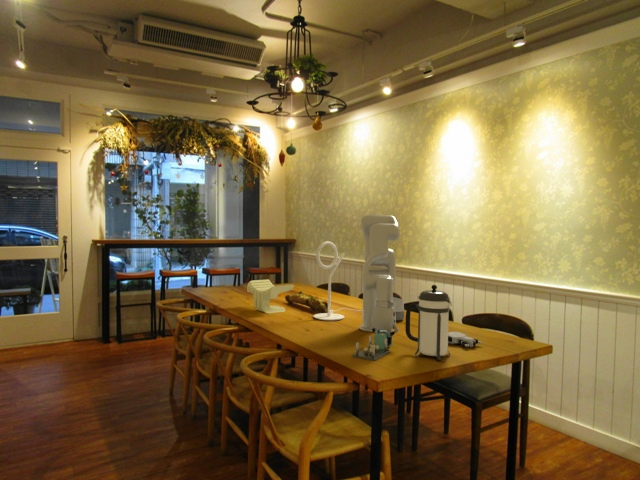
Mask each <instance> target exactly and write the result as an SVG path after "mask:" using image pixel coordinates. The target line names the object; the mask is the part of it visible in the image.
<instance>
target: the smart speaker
mask: <svg viewBox="0 0 640 480" xmlns="http://www.w3.org/2000/svg"><path fill="white" fill-rule="evenodd" d="M393 303H396V305H395V306H393V308H394V309H395V315H396V322H398V321H399V322H401V321H403V320H404V318H405V305H404V299H402V298H398V297H395V296H393Z"/></svg>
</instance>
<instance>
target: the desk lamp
mask: <svg viewBox="0 0 640 480" xmlns="http://www.w3.org/2000/svg"><path fill="white" fill-rule="evenodd" d="M325 246H329V247H331V248H332V250H333V252H334V255H333V256H334V257H333V260H332V262H331V263H330V264H328V265H326V264H324V263H323V261H322V260H321V257H320V256H321V250H322V249H323V248H324V247H325ZM345 254H346V253H345V252H342V253H341V254H340V256H339V253H338V248H337V246H336V245H335V243H333V242H332V241H329V240H328V241H327V240H326V241H323V242H321V243H320V244H319V245H318V248H317V249H316V254H315V258H316V262H317V265H319V267H320V268H322V269H324V270H329V269H332V270H331V271H330V274H328V277H327V278H328V279H327V281H328V282H327V283H328V284H327V285H328V286H327V312H323V313H322V312H320V313H315V314H314V315H313V318H315V319H316V320H319V321H325V322H326V321H329V322H331V321H334V322H335V321H340V320H342V319H345V315H344V314H339V313H334V312H335V310H333V309H332V310H331V307H332V306H331V305H332V304H331V303H332V301H331V300H332V297H331V296H332V277H333V275H334V273H335V272H336V270H337V268H338V266H339V265H340V263H341V262H342V260H343V259H344V257H345ZM341 309H343V307H341V308H339V309H336V312H339V311H340V310H341ZM344 309H345V310H346V309H347V310H348V308H346V307H344ZM349 310H351V311H354V308H353V309H351V308H349ZM356 311H359V312H362V310H359V309H356Z"/></svg>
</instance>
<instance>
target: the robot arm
mask: <svg viewBox="0 0 640 480" xmlns="http://www.w3.org/2000/svg"><path fill="white" fill-rule="evenodd" d="M360 228H361V233H362V235H363V238H364V263H363V267H362V273H361V283H362V325H361V324H360V325H359V330H360V331H364V332H372V333H373V334H376V333H379V332H381V331H383V330H386V331H387V334H388V337H387V346H389V347H391V346H392V345H391V343H392V344H393V336H394V335H395V334H397V333H398V332H400V329H399V327H398V326H397V321H396V315H395V309H394V308H393V306H395V305H396V303H393V297H394V287H395V284H396V263H397V262H396V254H395V251H394V250H393V249H391V248H389V242H390V241H393V242H394V241H398V240H399V238H400V235H401V234H400V231H401V230H400V225H399V223H398V221H397V219H396V217H395V216H393V215H392V214H391V215H389V214H367V215H364V216H362V217H361V219H360ZM370 267H383V269H382V268H370Z"/></svg>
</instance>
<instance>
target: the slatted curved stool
mask: <svg viewBox="0 0 640 480" xmlns="http://www.w3.org/2000/svg"><path fill="white" fill-rule="evenodd" d="M294 286H295V284H286V285H285V284H282V285H275V284H273V283H272V282H271V280H270V279H254V280H250V281H249V282H248V283H247V285H246V288H247V289H246V290H247V291H246V292H247V293H251V294H252V295H253V297H252V298H253V307H254V309H255V310H256V311H259V312H261V313H262V312H263V313H265V314H274V313H275V314H276V313H282V312H283V313H284V312H286V308H285V307H282V306H278V305H269V304H270V301H271V300H275V299H278V295H280V294H281V293H286V292H289V291H291V290H294V288H295V287H294Z"/></svg>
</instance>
